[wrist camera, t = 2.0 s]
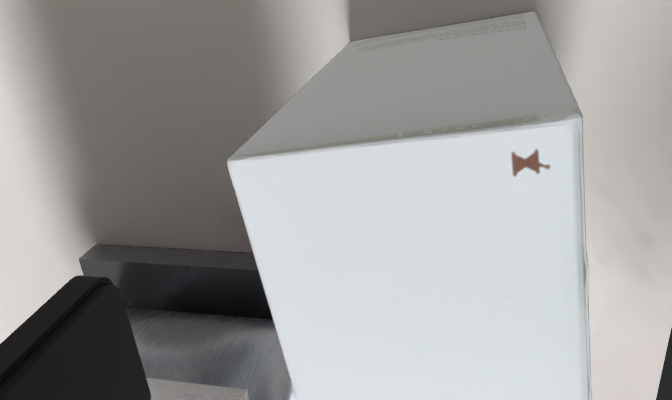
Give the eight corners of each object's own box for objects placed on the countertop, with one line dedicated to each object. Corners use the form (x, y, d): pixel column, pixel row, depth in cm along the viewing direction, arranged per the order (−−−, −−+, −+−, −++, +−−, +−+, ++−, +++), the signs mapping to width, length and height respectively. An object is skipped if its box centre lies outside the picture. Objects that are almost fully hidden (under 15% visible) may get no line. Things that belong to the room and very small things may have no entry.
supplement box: (344, 38, 23) (213, 147, 12) (540, 6, 21) (598, 105, 10) (374, 203, 26) (290, 414, 15) (548, 191, 24) (601, 426, 13)
